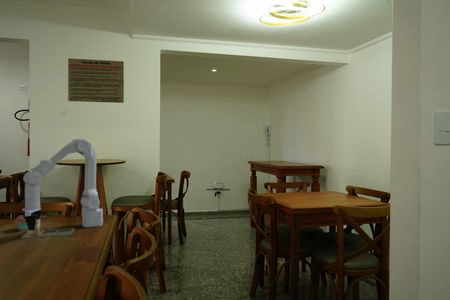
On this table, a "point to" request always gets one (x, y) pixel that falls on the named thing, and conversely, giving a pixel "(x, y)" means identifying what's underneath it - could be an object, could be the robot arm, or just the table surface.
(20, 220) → the cupcake
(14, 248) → the table surface
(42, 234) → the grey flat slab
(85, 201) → the robot arm
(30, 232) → the beech block
